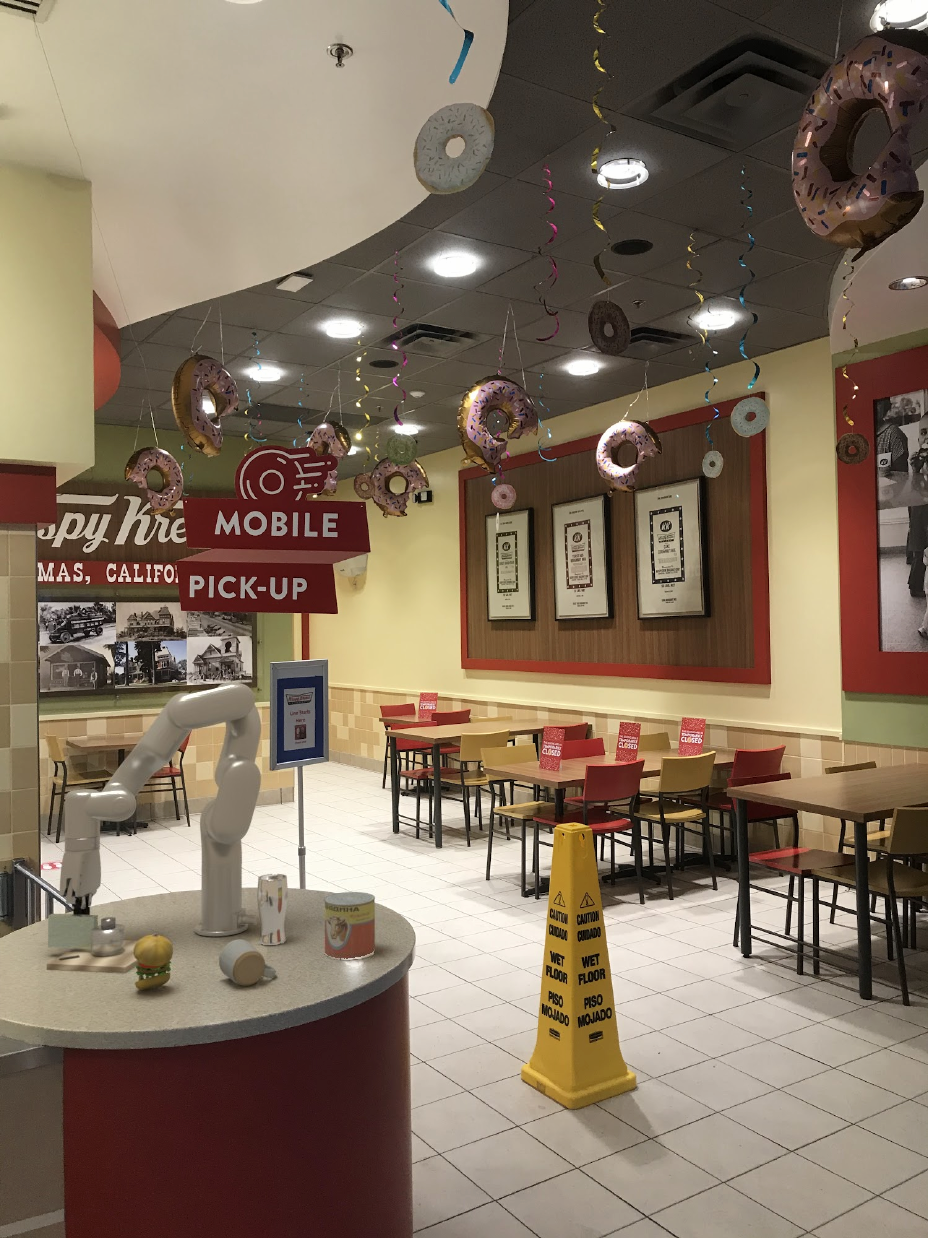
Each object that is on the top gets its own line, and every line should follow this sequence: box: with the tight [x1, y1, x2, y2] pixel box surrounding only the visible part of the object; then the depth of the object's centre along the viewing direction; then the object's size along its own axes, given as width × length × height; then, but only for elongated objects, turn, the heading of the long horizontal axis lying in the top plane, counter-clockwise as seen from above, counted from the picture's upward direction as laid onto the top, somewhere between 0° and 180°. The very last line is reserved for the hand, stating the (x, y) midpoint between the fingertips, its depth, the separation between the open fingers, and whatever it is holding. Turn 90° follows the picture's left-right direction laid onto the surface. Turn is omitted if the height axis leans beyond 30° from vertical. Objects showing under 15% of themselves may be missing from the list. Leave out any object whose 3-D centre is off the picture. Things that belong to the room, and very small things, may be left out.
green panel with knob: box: [47, 913, 126, 956], centre depth 210 cm, size 18×7×8 cm, turn 81°
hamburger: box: [133, 931, 174, 991], centre depth 189 cm, size 8×7×12 cm
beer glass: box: [256, 873, 289, 946], centre depth 220 cm, size 7×7×15 cm
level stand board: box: [46, 939, 139, 974], centre depth 209 cm, size 18×18×2 cm
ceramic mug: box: [218, 938, 277, 987], centre depth 194 cm, size 11×8×8 cm
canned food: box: [323, 891, 376, 959], centre depth 212 cm, size 11×11×12 cm
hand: (81, 925), depth 217 cm, fingers closed
